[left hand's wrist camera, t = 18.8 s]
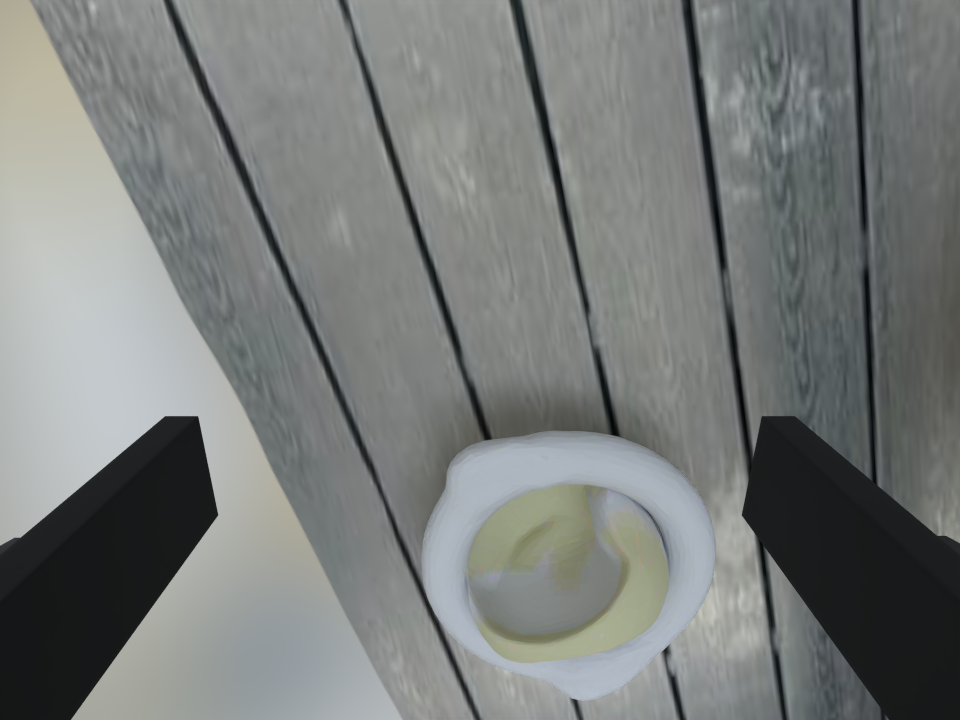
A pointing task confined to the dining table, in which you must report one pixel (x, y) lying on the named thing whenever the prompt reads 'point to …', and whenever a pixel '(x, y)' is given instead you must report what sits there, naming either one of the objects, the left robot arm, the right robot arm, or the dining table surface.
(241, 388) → the dining table surface
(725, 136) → the dining table surface
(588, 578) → the hat
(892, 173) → the dining table surface
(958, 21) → the dining table surface
